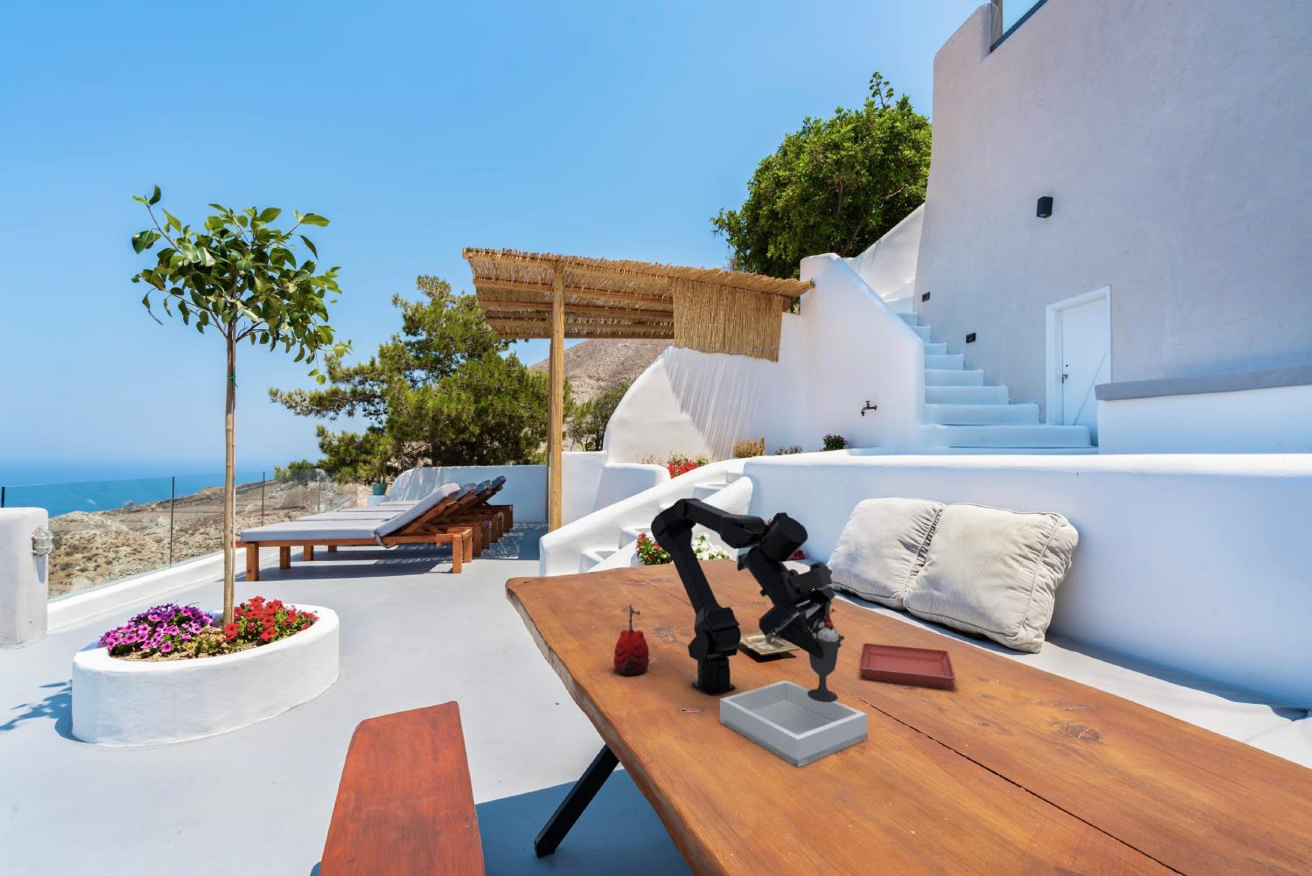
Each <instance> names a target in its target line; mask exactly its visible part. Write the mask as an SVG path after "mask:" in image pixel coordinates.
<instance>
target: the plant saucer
mask: <svg viewBox="0 0 1312 876" xmlns="http://www.w3.org/2000/svg"><path fill="white" fill-rule="evenodd" d="M858 668H859V670H860V672H862V674H863V675H864V676H865V677H866V678H867V679H869V680H874V681H879V682H880V681H882V682H889V683H890V682H892V683H898V684H907V685H913V686H920V687H921V686H922V687H931V688H939V689H945V688H947V687H948V686H949V685H950V684H951V683H953V681H954V680H955V678H956V674H955V670H954V667H953V664H952V660H951V656H950V654H949V651H948V650H945V649H935V648H923V647H912V646H902V645H892V644H891V645H890V644H879V643H867V642H864V643H862V647H861V652H860V656H859V663H858Z"/></svg>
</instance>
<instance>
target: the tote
mask: <svg viewBox="0 0 1312 876" xmlns="http://www.w3.org/2000/svg"><path fill="white" fill-rule="evenodd" d="M810 690H811V689H808V688H806V687H803V686H801V685H798V684H797V683H793V682H791V681H789V680H786V679H785V680H781V681H778V682H775V683H772V684H768V685H765V686H761V687H757V688H754V689H749V690H747V691H743V692H740V693H737V694H732V695H729V696H726V697H723V698H719V710H720V711H719V713H720V714H719V717H720V718H719V720H720V721H719V722H720V724H722V725H724V726H725V727H727V728H729V729H731V730H732V731H734V732H736V733H737V734H740V735H741V736H743V737H745V738H746V739H748V740H750V741H751V742H754V743H755V744H757V745H759V746H760V747H762V748H764V749H766V750H768V751H769V752H771V753H772V754H774V755H777V756H778V757H780V758H781V759H783V760H785V761H786V762H788V763H790V764H792V765H794V766H796V767H797V768H800V767H802V766H806V765H807V764H809V763H813V762H814V761H818V760H820V759H822V758H824V757H827V756H829V755H832V754H834V753H837V752H839V751H842V750H844V749H846V748H849V747H852V746H854V745H856V744H859V743H861V742H864V741H866V740H867V739H868V714H867V713H865V712H863V711H860V710H858V709H856V708H853V707H851V706H849V705H847V704H844V703H841V702H839V701H837V700H836V701H833V702H820V701H816V700H813V699H811V698H810V697H809V696H808V695H807V693H808V691H810Z"/></svg>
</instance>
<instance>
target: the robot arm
mask: <svg viewBox="0 0 1312 876" xmlns="http://www.w3.org/2000/svg"><path fill="white" fill-rule="evenodd" d="M697 524H698V525H700V526H702V527H704V528H706V529H708V530H711V531H713V532H716V533H717V534H718V535H719V538H720V540H721V541H722V542H723V543H725V544H726V545H727V546H728V547H730V548H731V549H734V550H738V549H747V548H748V551H747V552H745V553H741V554H739V555H738V556H737V561H738V562H737V565H736V569H737V571H738V572H741V571H743V570H745V569H748V571H749V572H750V574H751V575H752V576H753V577H754V579H755V581H756V582H757V583H758V584H759V586H760V588H762V589H761V590H760V591H759V593H760V595H761V596H762V597H763V598H764V597H768V598H769V599H770V602H771V601H772V602H773V603H774V605H773V606H772V607H771V608H769V610H768V611H767V612H765V613H764V614H763V615H762V616H761V617H760V618H759V619H758V628H759V630H760V631H761V632H762V634H763V635H764V637H768V636H770V635H773V633H774V632H775V629H776V628H777V627H778V628H779V629H780V631H779V632H777V633H776V634H775V635H774V636H775V637H776V638H778V637H779V638H781V639H783V640H785V641H787V642H789V643H791V644H792V645H795V646H796V647H798V648H799V649H801V650H803V651H805V652H806V653H808V654H809V653H810V654H811V655H813V656H815V657H816V658H818V659H822V658H823V657H824V656H825V655H824V653H823V651H822V649H821V647H820V646H819V644H818V642H817V641H816V639H815V638H814V636H813V634H812V633H811V631H810V630H809V628H810V619H814V620H816V621H817V620H818V619H821V618H824V616H827V615H828V613H829V612H830V611H831V610H830V609H831V605H832V603H833V601H832V600H833V599H834V598H835V597H836V596H837V595H836V594H835V593H834V591H833V590H832V589H831V588H830V587H829V586H828V585H832V584H833V580H832V578H831V576H832V574H833V571H832V569H831V568H829V567H828V565H827V564H824V562H823V561H818V562H815V563H812V564H810V565H809V570H808V571H806V572H802V573H799V572H798V571H797V570H796V569H795V568H791V569H788V568H787V566H786V565H785V564H784V563H783V562H787V561H789V560H790V558H792V557H793V556H794V555H795V554H796V552H797V551H798V550H799V549H801V547H802V546H803V545H804V544H805V543H806V542H807V540H808V539H809V534H808V531H807V530H806V527H805V526H804V525H803V524H801V523H800V522H799V521H798V520H796V519H794V518H792V517H790V516H789V515H788V513H787V512H777V513H776V514H775V515H774V516H773V517H772V520H771V521H770V522H769V523H768V524H767V523H765V520H764V519H763V518H762V517H760V516H755V515H751V514H749V515H748V514H736V513H731V512H728V511H726V510H725V509H724V510H723V509H722V508H721V509H720V508H718V507H716V506H713V505H711V504H708V503H707V502H704V501H702V500H701V499H699V498H696V497H691V498H690V497H685V498H680V499H677V501H675V503H674V504H672V505H671V506H669V507H667V508H666V509H664V510H662V511H661V512H659V513H658V514H657V515H656V516H655V517H654V518H653V520H652V521H651V523H650V531H651V534H652V536H653V538H654V539H655V541H656V543H657V545H658V546H659V547H660V548H661V549H662V550H664V551H665V552H666V553H667V554H668V555H670V557H671V559H672V562H673V563H674V566H675V569H676V571H677V573H678V575H679V578H680V580H681V583H682V585H683V587H684V589H685V592H686V594H687V597H688V599H689V601H690V603H691V604H690V605H691V606H692V608H693V611H694V613H695V618H694V619H695V620H694V627H693V628H694V629H693V630H694V634H695V637H693V639H692V640H691V641H690V642H689V644H688V645H687V648H688V654H689V657H690V658H691V659H693V660H696V661H697V681H694V682H691V687H693V688H695V689H697V690H700V691H701V692H702V693H705V694H707V695H709V696H713V695H717V694H721V693H725V692H728V691H732V690H735V689H736V685H734V684H733V683H731V667H730V658H729V657H733V656H737V655H738V651H739V647H740V643H741V639H742V632H741V629H740V627H739V626H740V622H738V620H737V618H736V616H735V613H734V611H733V609H732V608H731V607H730V606H726V607H723V606H721V605H720V604H719V602H718V601H717V598H716V597H715V594H714V592H713V590H712V588H711V586H710V584H709V581H708V579H707V576H706V575H705V573H704V569H702V566H701V564H700V561H699V559H698V558H697V555H696V553H695V551H694V549H693V546H692V540H693V530H692V529H693V528H695V526H696V525H697ZM749 548H750V549H749ZM772 602H771V603H772ZM829 615H830V613H829ZM829 615H828V616H829ZM806 618H807V619H806ZM831 622H832V620H831ZM832 623H833V622H832ZM808 627H809V628H808ZM841 647H842V644H841V643H840V646H839V648H841Z"/></svg>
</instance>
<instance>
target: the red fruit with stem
mask: <svg viewBox="0 0 1312 876" xmlns="http://www.w3.org/2000/svg"><path fill="white" fill-rule="evenodd" d="M628 608H629V620H628V624H629V629H628V630H627V629H622V630H621V631H620V636H619V638H618V639H617V641H616V643H615V648H614V658H613V665H614V667H615V669H616V671H617V672H619V673H620V674H621V675H625V676H626V675H627V676H637V675H641V674H642V673H645V672H646V670H647V669H648V666H649V663H650V659H649V656H650V654H649V653H650V652H649V646H648V644H647V641H646V639H645V637H644V632H643V631H642V630H634V629H633V624H632V623H633V620H632V618H633V614H635V615H638V616H641V611H640V610H638V611H635V610H634V609H633V608H632V604H629V607H628Z"/></svg>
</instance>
